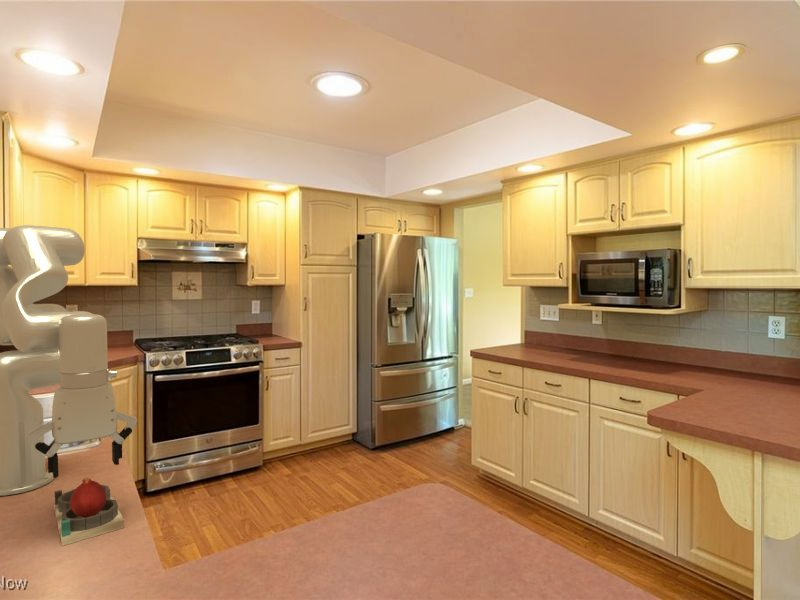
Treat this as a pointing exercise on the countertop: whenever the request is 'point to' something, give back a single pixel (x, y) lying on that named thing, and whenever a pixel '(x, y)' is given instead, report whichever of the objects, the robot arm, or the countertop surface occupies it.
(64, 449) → the countertop surface
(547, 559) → the countertop surface
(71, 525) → the cream flat ringed piece
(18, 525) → the countertop surface
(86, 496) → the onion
